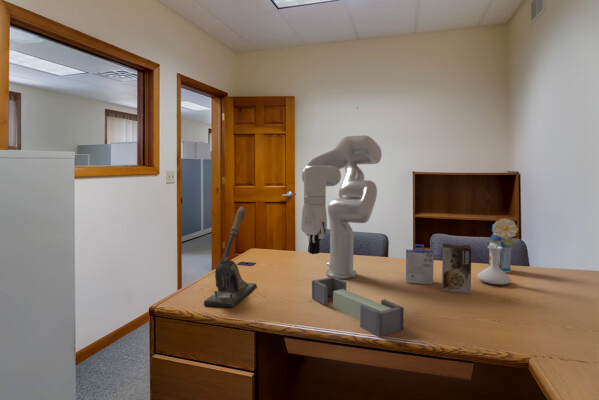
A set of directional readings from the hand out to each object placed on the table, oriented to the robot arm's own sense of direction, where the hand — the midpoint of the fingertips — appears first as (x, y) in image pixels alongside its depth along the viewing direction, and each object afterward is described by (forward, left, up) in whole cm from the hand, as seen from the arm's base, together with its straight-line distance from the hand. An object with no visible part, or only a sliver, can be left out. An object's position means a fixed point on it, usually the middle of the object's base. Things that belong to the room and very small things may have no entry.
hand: (314, 253), depth 122 cm
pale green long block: (+25, 0, -14) cm, 28 cm away
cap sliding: (+8, 0, -14) cm, 16 cm away
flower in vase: (+27, +65, -14) cm, 72 cm away
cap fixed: (+33, 0, -14) cm, 36 cm away
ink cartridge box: (+11, +41, -14) cm, 45 cm away
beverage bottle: (+18, +83, -14) cm, 86 cm away
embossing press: (-12, -26, -14) cm, 32 cm away
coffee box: (+24, +45, -14) cm, 53 cm away
